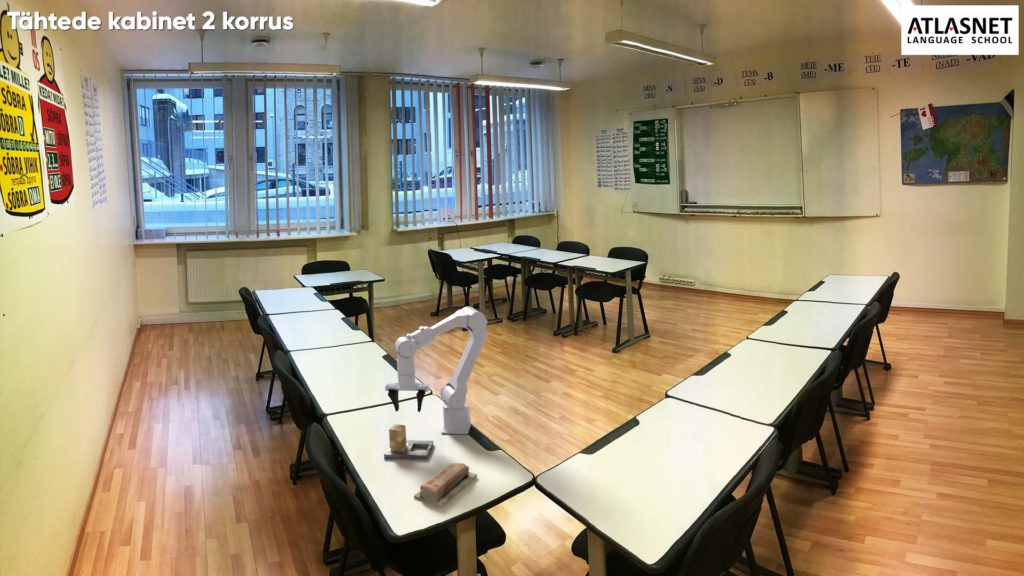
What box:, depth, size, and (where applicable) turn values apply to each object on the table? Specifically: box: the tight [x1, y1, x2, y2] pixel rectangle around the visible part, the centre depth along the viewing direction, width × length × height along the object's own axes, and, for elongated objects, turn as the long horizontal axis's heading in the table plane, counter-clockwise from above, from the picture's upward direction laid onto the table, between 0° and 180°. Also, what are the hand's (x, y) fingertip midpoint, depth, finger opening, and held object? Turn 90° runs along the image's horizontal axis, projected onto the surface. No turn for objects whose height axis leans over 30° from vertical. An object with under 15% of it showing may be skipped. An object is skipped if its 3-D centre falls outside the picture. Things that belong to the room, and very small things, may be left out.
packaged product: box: [413, 462, 478, 508], centre depth 173 cm, size 18×5×10 cm
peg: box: [388, 423, 407, 451], centre depth 194 cm, size 4×4×7 cm
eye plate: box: [383, 439, 434, 461], centre depth 195 cm, size 14×10×2 cm
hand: (408, 410), depth 202 cm, fingers open, 7 cm apart
